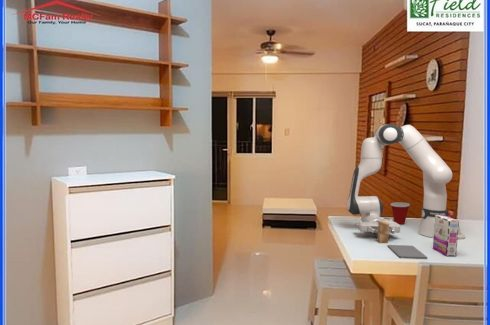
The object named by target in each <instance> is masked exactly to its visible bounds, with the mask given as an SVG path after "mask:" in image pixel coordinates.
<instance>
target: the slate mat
mask: <svg viewBox="0 0 490 325" xmlns="http://www.w3.org/2000/svg"><path fill="white" fill-rule="evenodd" d="M386 247H388V249H390V250H391V252H393V253H394V254H395V255H396V257H398V258H399V259H413V260H414V259H416V260H417V259H418V260H419V259H420V260H428V257H427V256H426V255H425V254H424V253H423V252H421V251H420V250H419V249H418V248H416V247H415V246H414V245H406V244H405V245H399V244H387V246H386Z"/></svg>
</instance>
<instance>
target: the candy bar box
mask: <svg viewBox="0 0 490 325" xmlns="http://www.w3.org/2000/svg"><path fill="white" fill-rule="evenodd" d="M459 226H460V221H459V220H458V219H456V218H452V217H450V216H449V217H447V216H445V215H435V226H434V238H433V242H432V249H433V250H434V251H436V252H438V253H440V254H442V255H443V256H446V257H457V248H458V240H459V239H458V228H459Z"/></svg>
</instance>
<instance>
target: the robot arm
mask: <svg viewBox="0 0 490 325" xmlns="http://www.w3.org/2000/svg"><path fill="white" fill-rule="evenodd" d="M395 143H399V145H401V146H402V148H403V150H405V151H406V153H407V154H408V155H409V157H410V158H411V159H412V161H413V162H414V163H415V164H416V165H417V167H419V169H420V170H421V171H422V173H423V174H422V180H423V182H422V183H423V203H422V207H421V221H420V225H419V228H418V231H417V232H418V234H419V235H422V236H425V237H429V238H433V239H434V226H435V215H445V216H447V217H450V216H453V215H454V211H451V210H448V209H447V200H448V194H447V187H446V184H448V183H449V182H451V180H452V178H453V172H452V169H451V168H450V166H448V164H447V163H446V162H445V161H444V160H443V159H442V157H441V156H440V155H439V154H438V153H437V152H436V151H435V150H434V149H433V148H432V146H431V145H430V144H429V142H428V141H427V140H426V138H425V137H424V136H423V135H422V134H421V132H419V131H418V130H417V128H416V127H414V126H412V125H411V124H405V125H403V126H401V127H400V126H397V125H395V124H393V123H387V124H383V125H381V126H379V127H378V128H377V129H375V132H374V134H373V136H372V137H367V138H365V139H363V141H362V144H361V146H360V147H361V149H360V161H359V164H358V166H357V167H355V168H354V170H353V174H352V178H351V184H350V188H349V195H348V198H347V202H346V208H347V211H348V212H349V213H350V214H352V215H353V216H355V215H360V220H361V221H359V222H358V223H356V226H357V227H358V229H359V231H360V232H361V233H362V232H365V233H370V232H371V233H372V234H378V222H379V221H385V222H388V223H389V234H390V233H391V234H397V233H400V232H401V224H397V223H396V222H394V219H392V218H387V217H382V214H383V213H384V205H383V201H382V200H381V199H380V198H379V197H378V196H377V195H369V196H367V195H366V196H362V195H361V196H359V191H360V185H361V183H362V180H364V179H365V178H367V177H369V176H371V175H374V174H376V173H378V172H379V171H380V170H381V169H382V168H381V167H382V163H383V153H382V152H383V149H384V147H385V146H389V145H394V144H395ZM459 239H460V240H462V239H464V240H465V239H466V236H465V234H464V233H462V232H461V226H460V225H459V228H458V239H457V240H459Z"/></svg>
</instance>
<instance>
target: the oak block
mask: <svg viewBox="0 0 490 325" xmlns="http://www.w3.org/2000/svg"><path fill="white" fill-rule="evenodd" d="M389 235H390V233H389V223H388V222H385V221H379V222H378V233H377V240H376V241H377V242H378V243H379V244H389V237H390V236H389Z"/></svg>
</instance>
